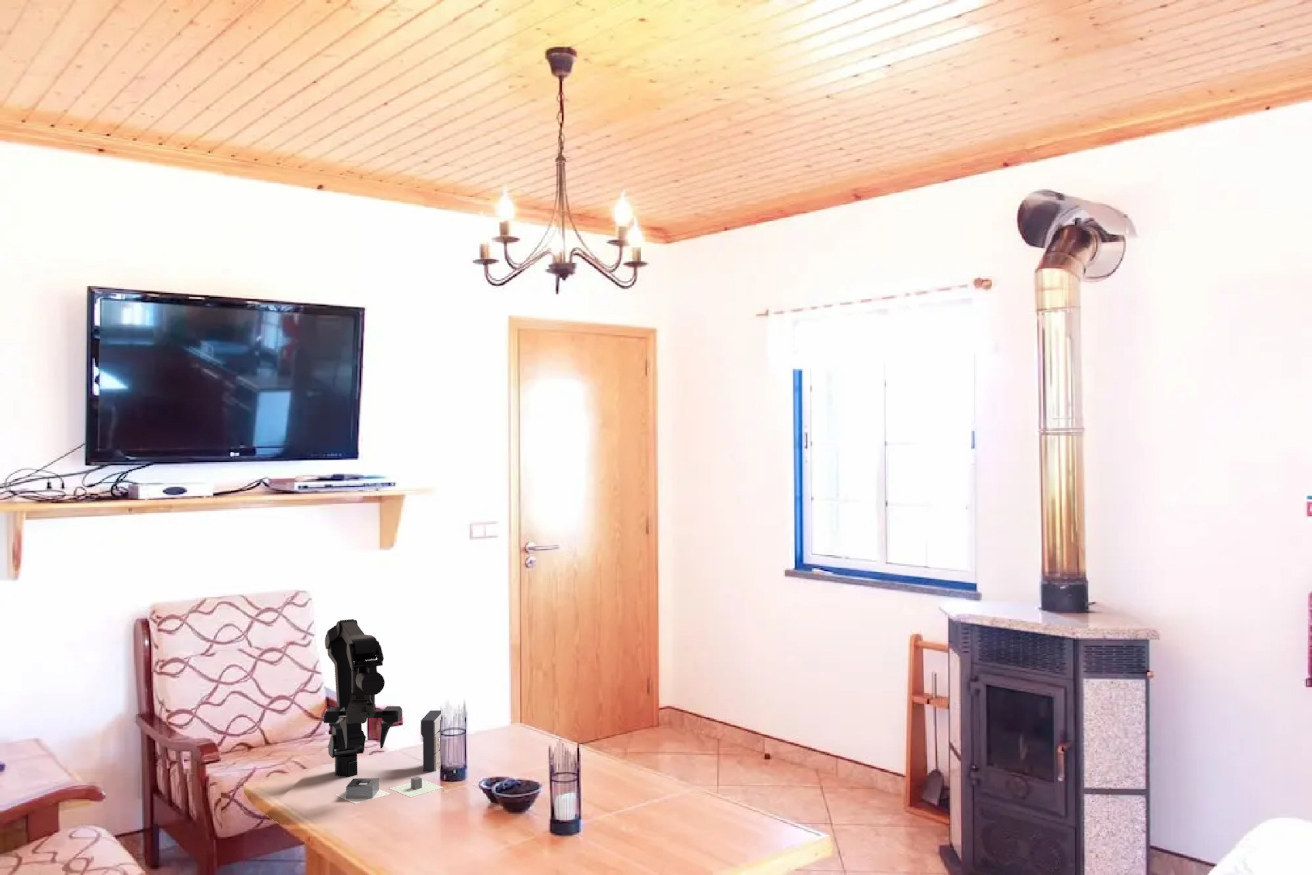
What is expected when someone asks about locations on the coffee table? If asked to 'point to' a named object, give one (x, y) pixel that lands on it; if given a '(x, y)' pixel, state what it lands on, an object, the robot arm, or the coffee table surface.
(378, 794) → the plate stand
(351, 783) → the grey socket block
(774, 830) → the coffee table surface
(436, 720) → the calculator
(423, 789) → the hub board
